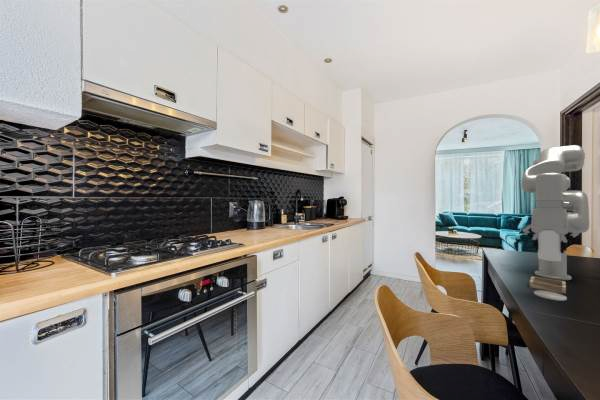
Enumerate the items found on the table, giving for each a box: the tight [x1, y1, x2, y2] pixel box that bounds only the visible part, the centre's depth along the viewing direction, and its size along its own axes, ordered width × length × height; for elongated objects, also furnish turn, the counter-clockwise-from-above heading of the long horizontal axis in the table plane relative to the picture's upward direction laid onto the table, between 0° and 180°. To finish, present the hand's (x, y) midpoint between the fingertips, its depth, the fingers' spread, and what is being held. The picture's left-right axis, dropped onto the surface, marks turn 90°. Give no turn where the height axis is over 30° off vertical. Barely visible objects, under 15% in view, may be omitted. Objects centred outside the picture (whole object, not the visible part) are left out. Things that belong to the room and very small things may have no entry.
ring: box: [529, 275, 567, 295], centre depth 106 cm, size 11×11×2 cm
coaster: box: [533, 289, 568, 302], centre depth 96 cm, size 9×9×1 cm
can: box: [537, 229, 561, 262], centre depth 96 cm, size 6×6×12 cm
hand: (549, 250), depth 96 cm, fingers closed on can, 6 cm apart
